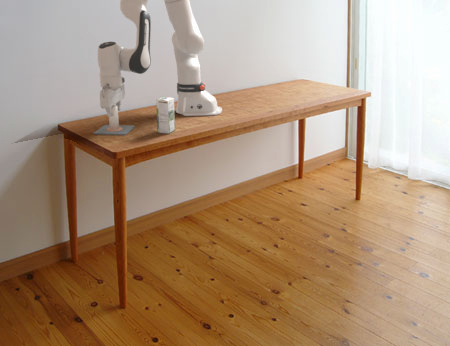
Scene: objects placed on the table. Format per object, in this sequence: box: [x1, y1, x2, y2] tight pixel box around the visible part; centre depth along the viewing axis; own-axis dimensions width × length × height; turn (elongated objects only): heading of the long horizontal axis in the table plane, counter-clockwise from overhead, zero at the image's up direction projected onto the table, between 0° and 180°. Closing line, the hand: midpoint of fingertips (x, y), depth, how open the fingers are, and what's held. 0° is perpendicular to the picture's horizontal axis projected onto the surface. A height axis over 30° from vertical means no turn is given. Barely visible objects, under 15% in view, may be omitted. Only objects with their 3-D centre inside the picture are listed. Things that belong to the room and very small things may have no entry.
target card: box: [93, 124, 136, 136], centre depth 238 cm, size 14×13×1 cm
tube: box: [108, 104, 120, 130], centre depth 236 cm, size 4×4×10 cm
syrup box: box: [155, 96, 176, 134], centre depth 233 cm, size 6×6×14 cm
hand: (114, 113), depth 236 cm, fingers open, 8 cm apart
